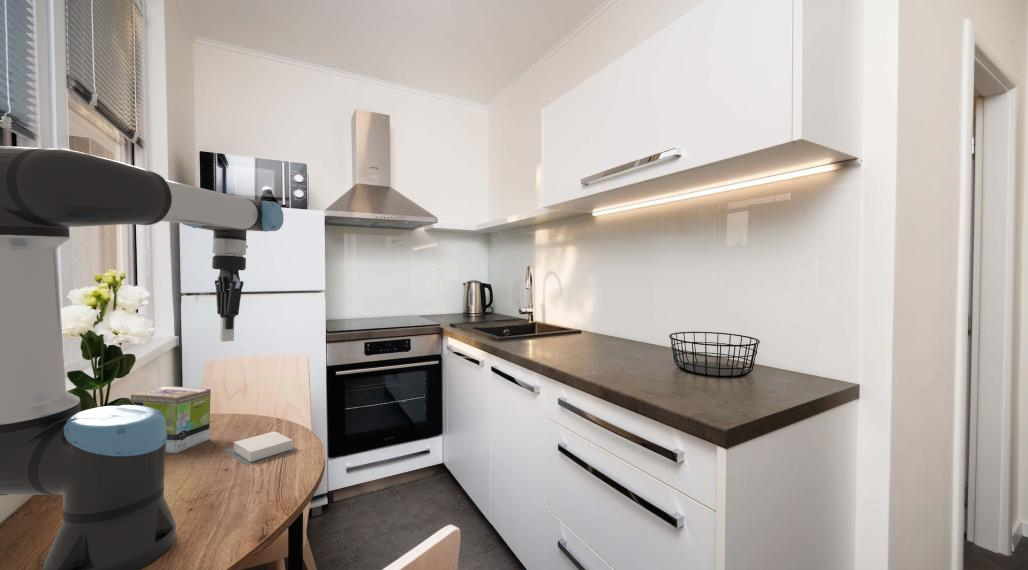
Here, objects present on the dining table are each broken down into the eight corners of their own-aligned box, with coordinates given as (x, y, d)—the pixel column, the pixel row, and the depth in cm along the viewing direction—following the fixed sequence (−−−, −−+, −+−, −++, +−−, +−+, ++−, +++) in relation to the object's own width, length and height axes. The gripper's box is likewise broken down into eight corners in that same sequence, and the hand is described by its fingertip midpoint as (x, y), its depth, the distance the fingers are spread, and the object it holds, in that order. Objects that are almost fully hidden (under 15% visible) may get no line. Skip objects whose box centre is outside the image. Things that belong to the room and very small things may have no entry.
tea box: (210, 440, 112) (212, 388, 112) (174, 455, 102) (176, 397, 102) (166, 435, 114) (168, 384, 114) (126, 449, 104) (128, 393, 104)
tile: (233, 452, 103) (250, 462, 98) (233, 442, 103) (250, 452, 98) (274, 440, 111) (292, 449, 106) (274, 431, 111) (292, 440, 106)
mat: (246, 467, 96) (246, 465, 96) (223, 451, 104) (223, 450, 104) (297, 451, 106) (297, 449, 106) (272, 438, 114) (272, 436, 114)
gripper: (255, 256, 109) (252, 342, 109) (235, 257, 116) (232, 337, 116) (223, 253, 103) (220, 345, 103) (204, 254, 110) (201, 339, 110)
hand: (226, 340), depth 110 cm, fingers closed
